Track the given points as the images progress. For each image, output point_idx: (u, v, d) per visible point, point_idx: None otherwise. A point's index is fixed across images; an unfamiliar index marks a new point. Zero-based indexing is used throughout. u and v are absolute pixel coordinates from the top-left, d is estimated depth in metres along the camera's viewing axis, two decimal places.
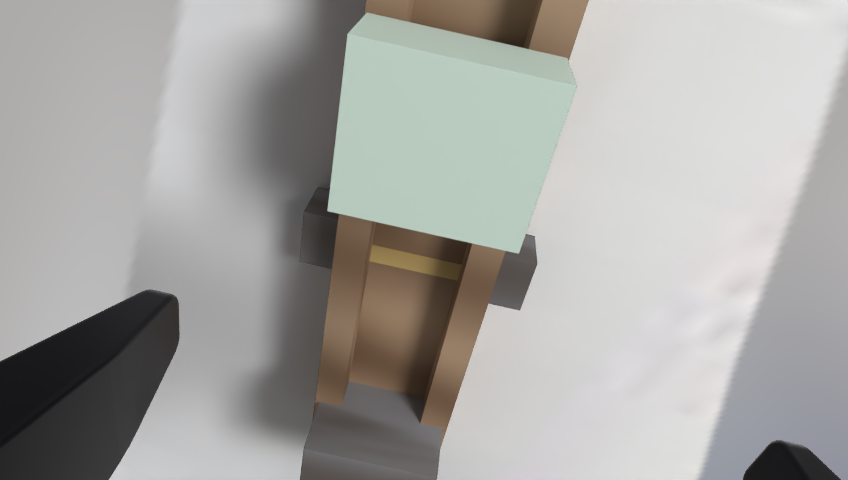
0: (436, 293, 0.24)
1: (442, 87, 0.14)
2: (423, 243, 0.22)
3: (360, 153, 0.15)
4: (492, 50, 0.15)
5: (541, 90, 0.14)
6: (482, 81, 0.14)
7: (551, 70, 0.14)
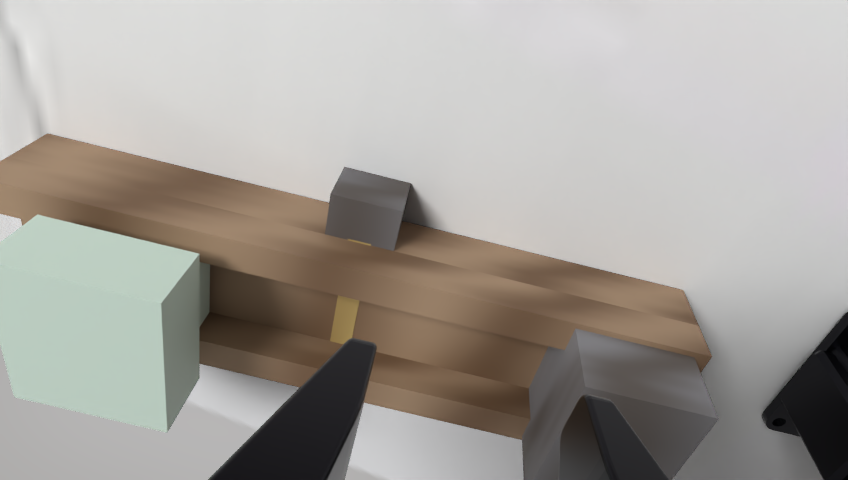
0: None
1: (24, 348, 0.17)
2: (321, 299, 0.21)
3: (103, 403, 0.18)
4: None
5: None
6: (7, 323, 0.17)
7: None
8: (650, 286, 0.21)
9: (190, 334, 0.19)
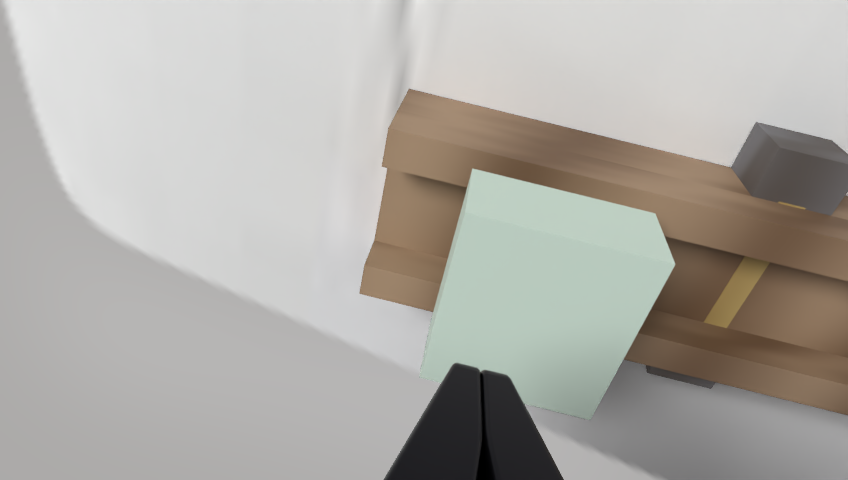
0: None
1: (465, 320, 0.15)
2: (713, 273, 0.19)
3: (528, 386, 0.16)
4: (451, 251, 0.16)
5: (469, 243, 0.14)
6: (459, 289, 0.15)
7: (462, 215, 0.14)
8: None
9: None
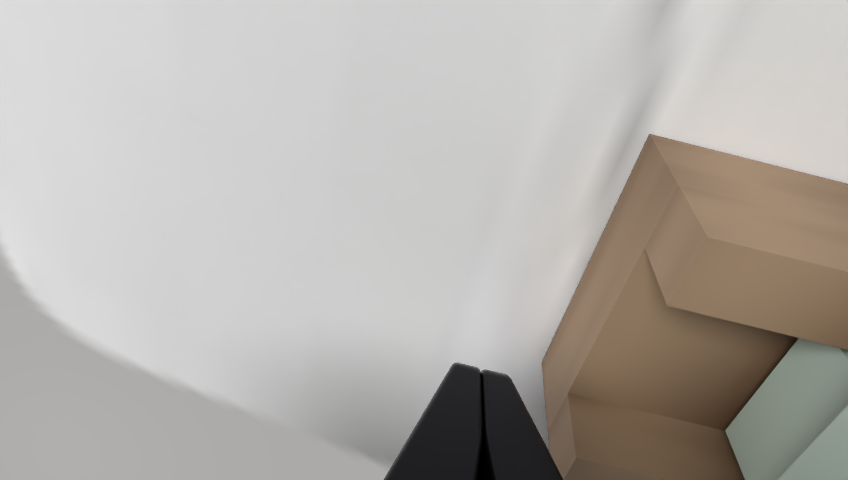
0: None
1: None
2: None
3: None
4: None
5: None
6: None
7: None
8: None
9: None
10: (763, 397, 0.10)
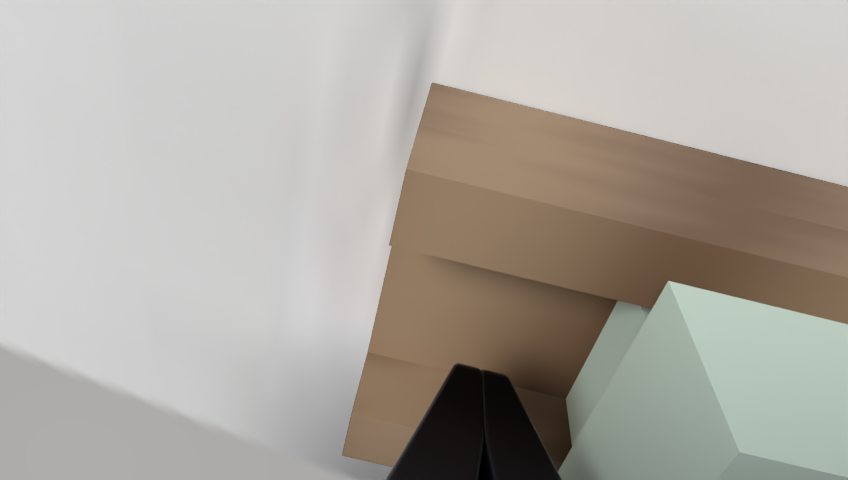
0: None
1: None
2: None
3: None
4: (612, 456, 0.07)
5: None
6: None
7: (682, 417, 0.06)
8: None
9: None
10: (591, 362, 0.10)
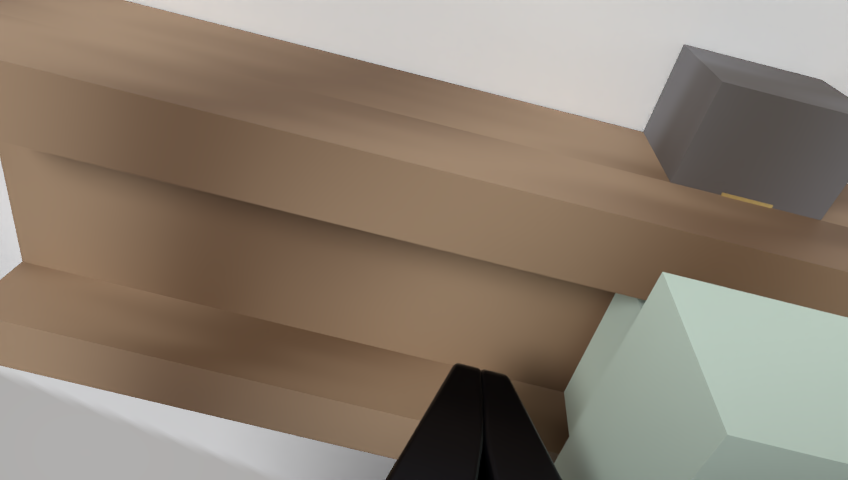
0: None
1: None
2: None
3: None
4: (607, 444, 0.07)
5: None
6: None
7: (673, 403, 0.06)
8: None
9: None
10: (589, 355, 0.10)
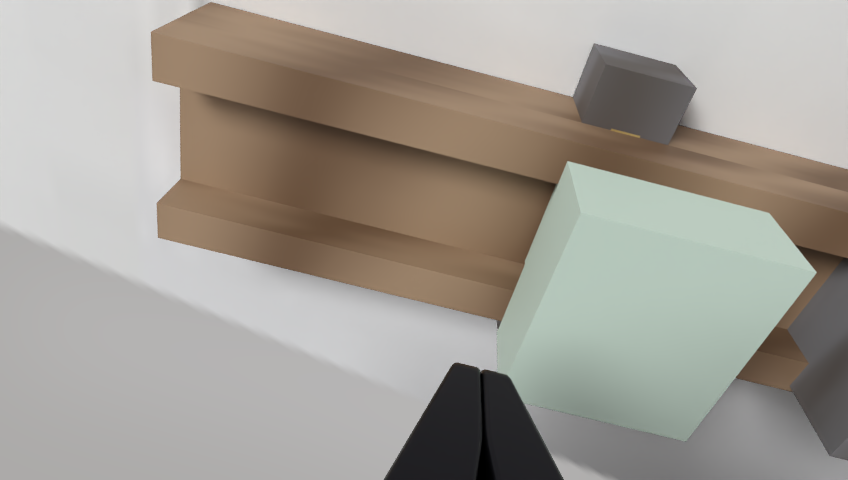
0: None
1: (561, 333, 0.13)
2: None
3: (622, 405, 0.14)
4: (540, 255, 0.14)
5: (580, 248, 0.12)
6: (560, 300, 0.13)
7: (566, 215, 0.12)
8: None
9: None
10: None
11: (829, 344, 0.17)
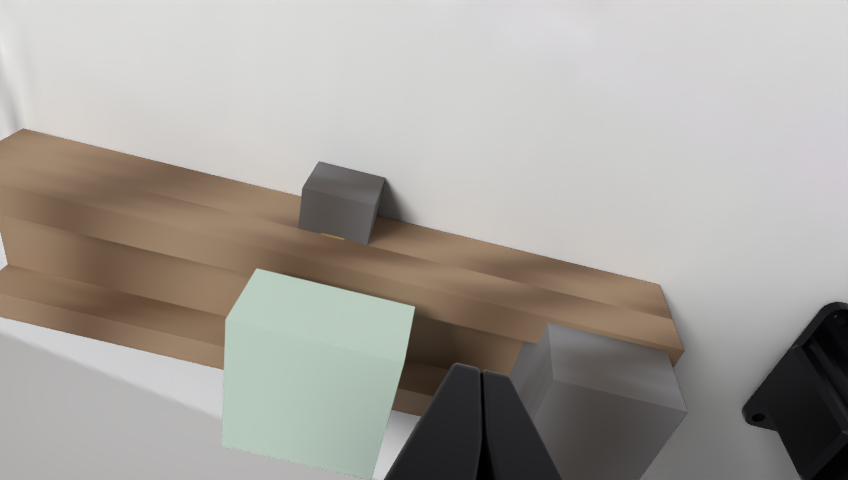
0: None
1: (247, 401, 0.17)
2: None
3: (313, 453, 0.18)
4: None
5: (235, 343, 0.16)
6: (236, 378, 0.17)
7: None
8: (626, 281, 0.21)
9: None
10: None
11: None
